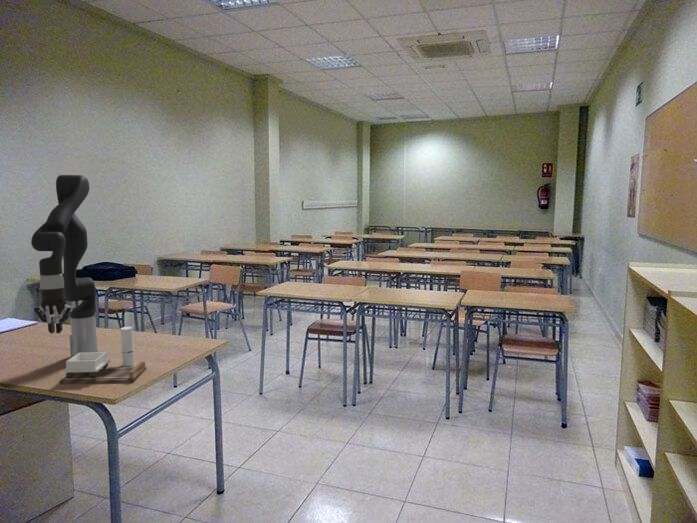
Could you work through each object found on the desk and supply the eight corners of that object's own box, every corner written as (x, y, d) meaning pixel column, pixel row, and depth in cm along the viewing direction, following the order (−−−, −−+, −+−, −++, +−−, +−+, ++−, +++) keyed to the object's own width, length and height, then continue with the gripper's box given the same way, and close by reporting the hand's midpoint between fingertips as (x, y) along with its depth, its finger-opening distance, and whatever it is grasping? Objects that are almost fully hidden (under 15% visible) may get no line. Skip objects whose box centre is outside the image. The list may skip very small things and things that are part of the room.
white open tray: (63, 378, 179) (62, 362, 178) (78, 367, 191) (77, 352, 190) (97, 378, 180) (96, 361, 179) (111, 367, 192) (110, 351, 191)
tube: (124, 362, 201) (122, 326, 199) (135, 362, 202) (133, 326, 200) (121, 366, 197) (118, 329, 195) (132, 366, 197) (130, 329, 195)
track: (59, 384, 178) (58, 374, 178) (77, 370, 192) (77, 362, 192) (133, 382, 180) (133, 373, 180) (146, 369, 194) (146, 360, 194)
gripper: (26, 288, 176) (30, 336, 179) (66, 288, 177) (70, 335, 180) (38, 284, 184) (41, 330, 186) (76, 284, 185) (79, 329, 187)
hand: (55, 332), depth 183 cm, fingers closed
